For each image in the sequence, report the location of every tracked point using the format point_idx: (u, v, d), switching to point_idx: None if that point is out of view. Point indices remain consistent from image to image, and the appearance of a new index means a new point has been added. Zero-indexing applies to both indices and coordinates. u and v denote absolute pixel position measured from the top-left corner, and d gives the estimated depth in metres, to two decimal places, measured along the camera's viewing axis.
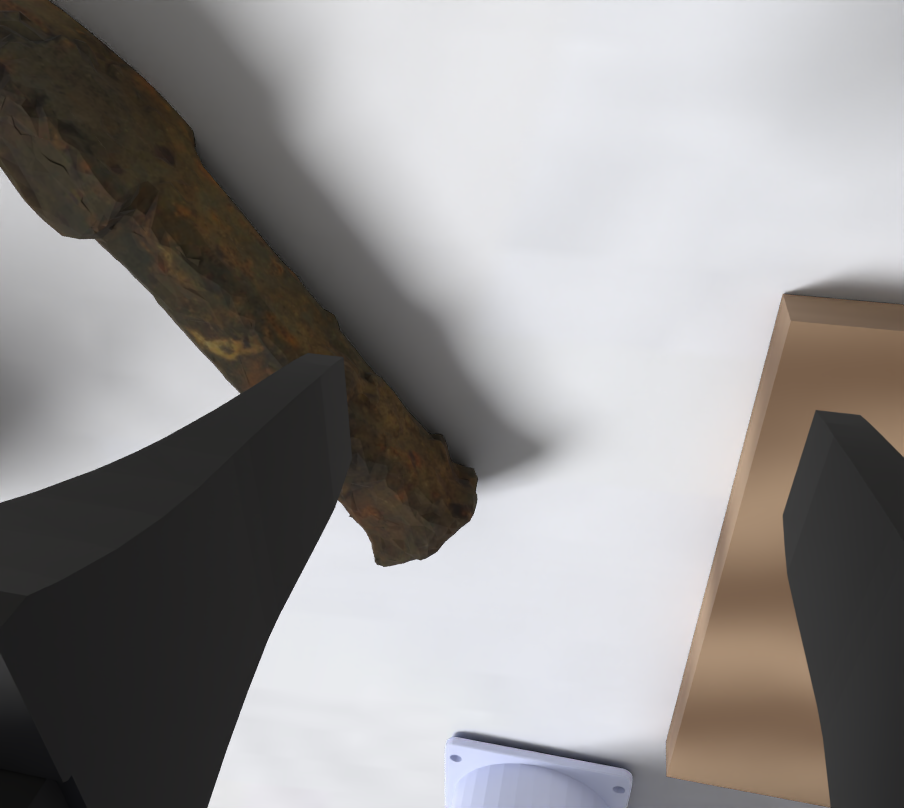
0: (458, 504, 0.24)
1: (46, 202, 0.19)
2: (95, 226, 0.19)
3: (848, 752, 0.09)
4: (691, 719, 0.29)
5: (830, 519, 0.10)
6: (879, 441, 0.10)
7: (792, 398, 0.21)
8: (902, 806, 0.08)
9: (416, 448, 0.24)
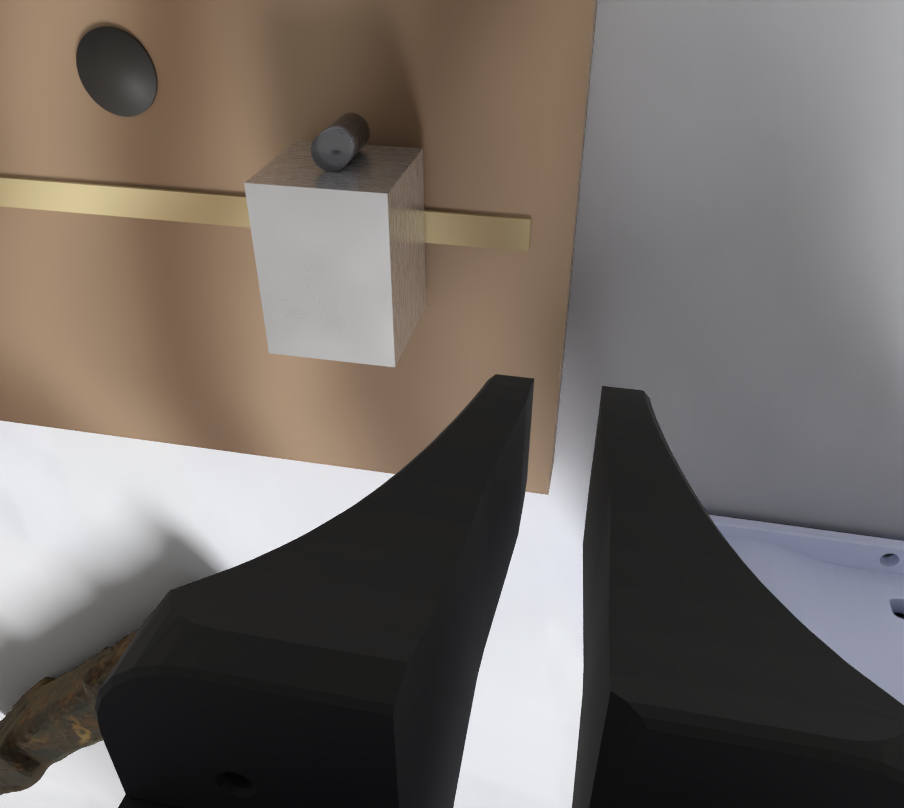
0: None
1: (17, 783, 0.36)
2: (17, 769, 0.35)
3: (584, 705, 0.10)
4: None
5: (595, 488, 0.11)
6: (642, 413, 0.11)
7: (5, 407, 0.26)
8: (584, 747, 0.08)
9: None
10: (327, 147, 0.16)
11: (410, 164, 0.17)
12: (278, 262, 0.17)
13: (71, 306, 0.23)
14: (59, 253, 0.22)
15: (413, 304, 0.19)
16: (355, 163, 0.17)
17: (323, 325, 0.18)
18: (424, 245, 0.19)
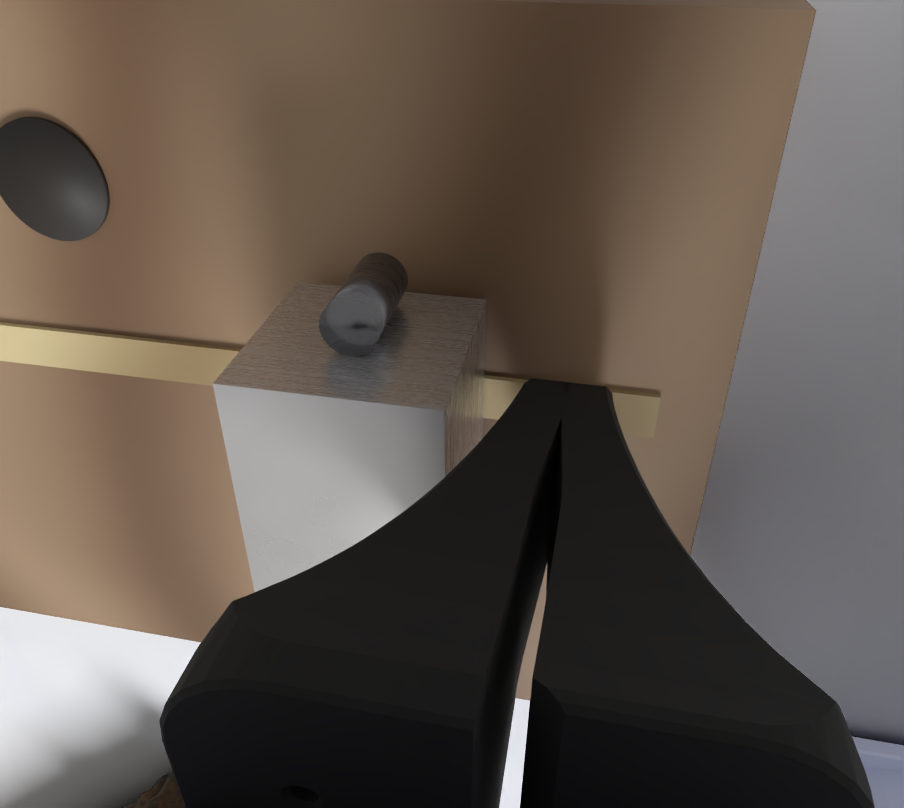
0: None
1: None
2: None
3: None
4: None
5: (555, 482, 0.11)
6: (601, 409, 0.11)
7: None
8: None
9: None
10: (345, 321, 0.10)
11: (472, 336, 0.11)
12: (269, 491, 0.11)
13: (6, 471, 0.17)
14: None
15: None
16: (388, 335, 0.11)
17: None
18: None
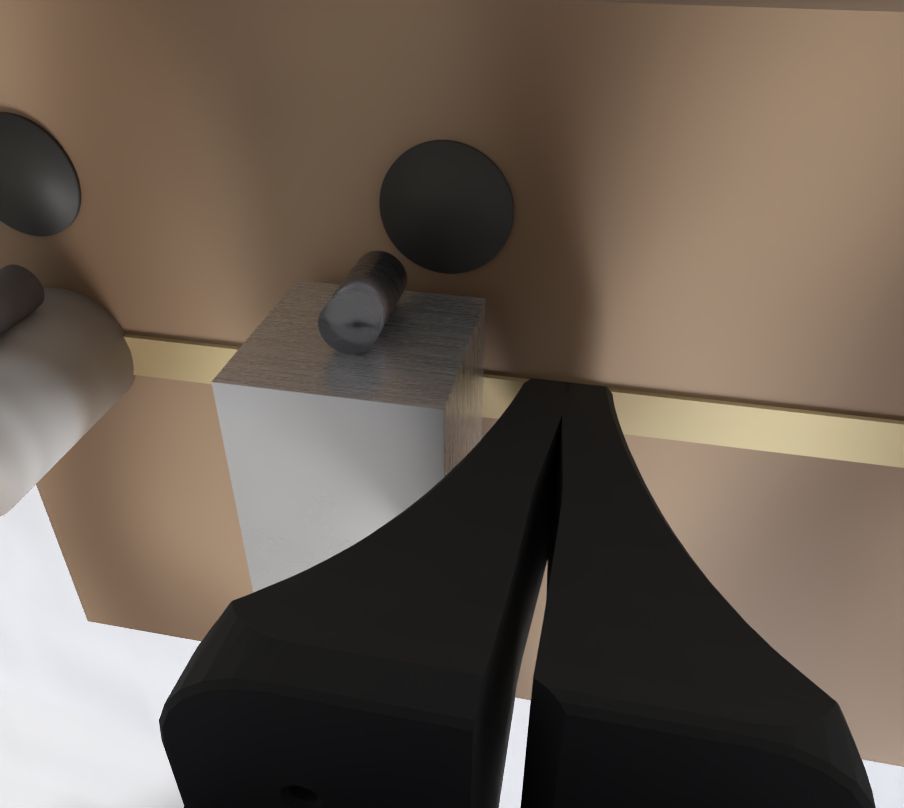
0: None
1: None
2: None
3: None
4: None
5: (556, 482, 0.11)
6: (601, 409, 0.11)
7: (167, 620, 0.19)
8: None
9: None
10: (344, 320, 0.10)
11: (471, 335, 0.11)
12: (267, 489, 0.11)
13: None
14: None
15: None
16: (386, 334, 0.11)
17: None
18: None
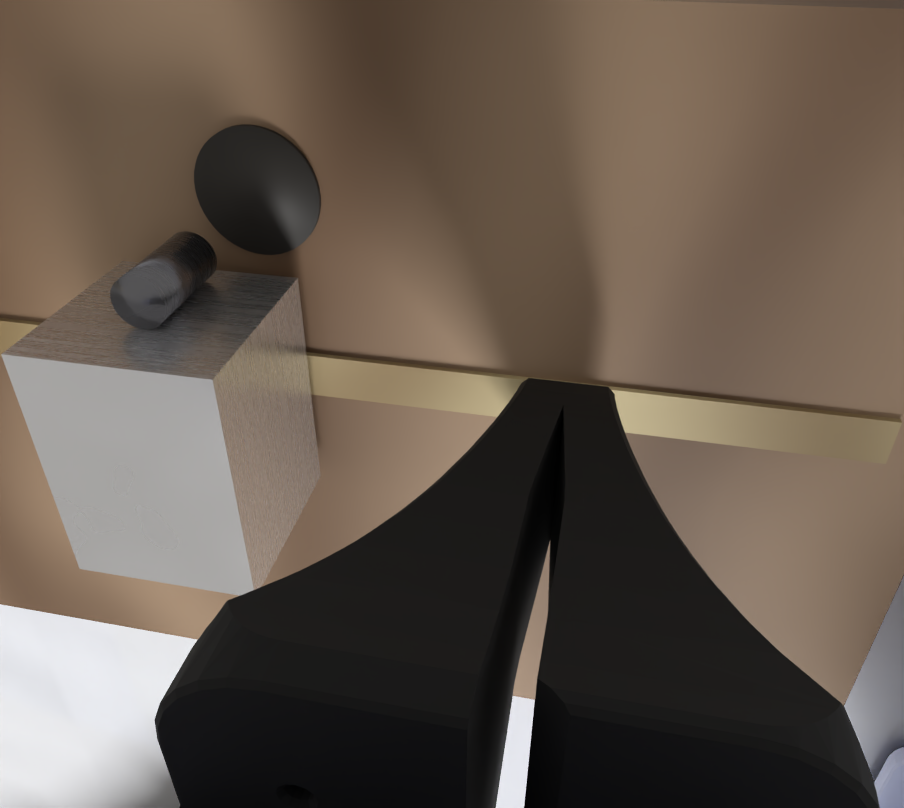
0: None
1: None
2: None
3: None
4: None
5: (558, 483, 0.11)
6: (604, 409, 0.11)
7: (54, 599, 0.19)
8: None
9: None
10: (133, 296, 0.11)
11: (269, 311, 0.12)
12: (71, 460, 0.11)
13: None
14: None
15: (292, 490, 0.13)
16: (188, 310, 0.12)
17: (148, 541, 0.12)
18: (311, 402, 0.14)
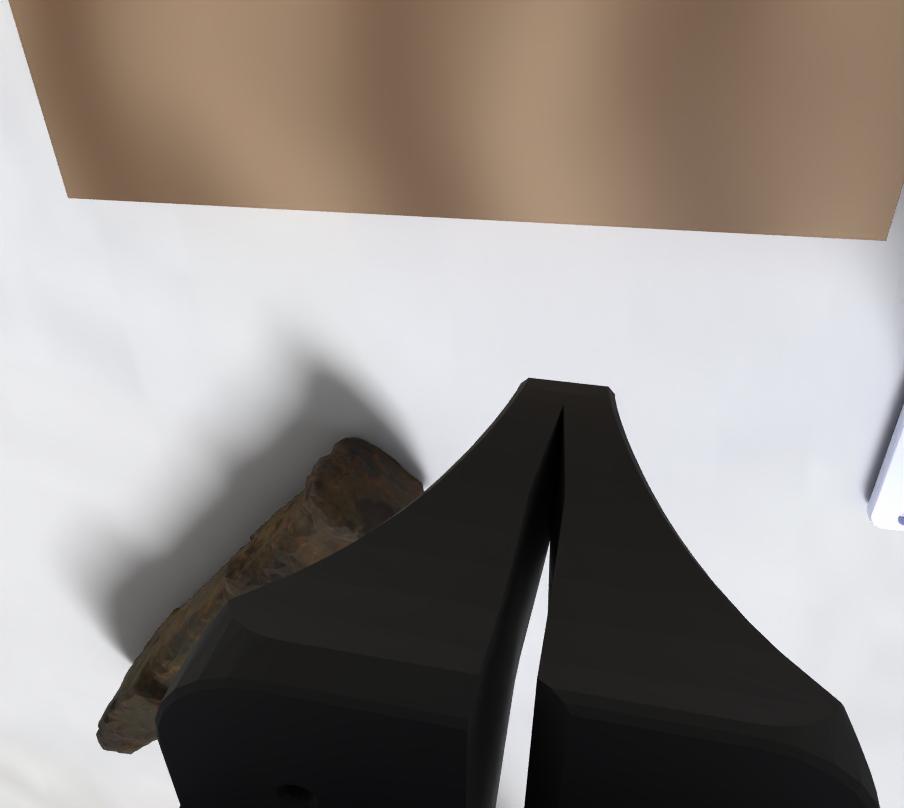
0: None
1: None
2: None
3: None
4: (708, 218, 0.18)
5: (558, 483, 0.11)
6: (604, 409, 0.11)
7: (140, 180, 0.20)
8: None
9: (294, 509, 0.25)
10: None
11: None
12: None
13: (245, 3, 0.17)
14: None
15: None
16: None
17: None
18: None
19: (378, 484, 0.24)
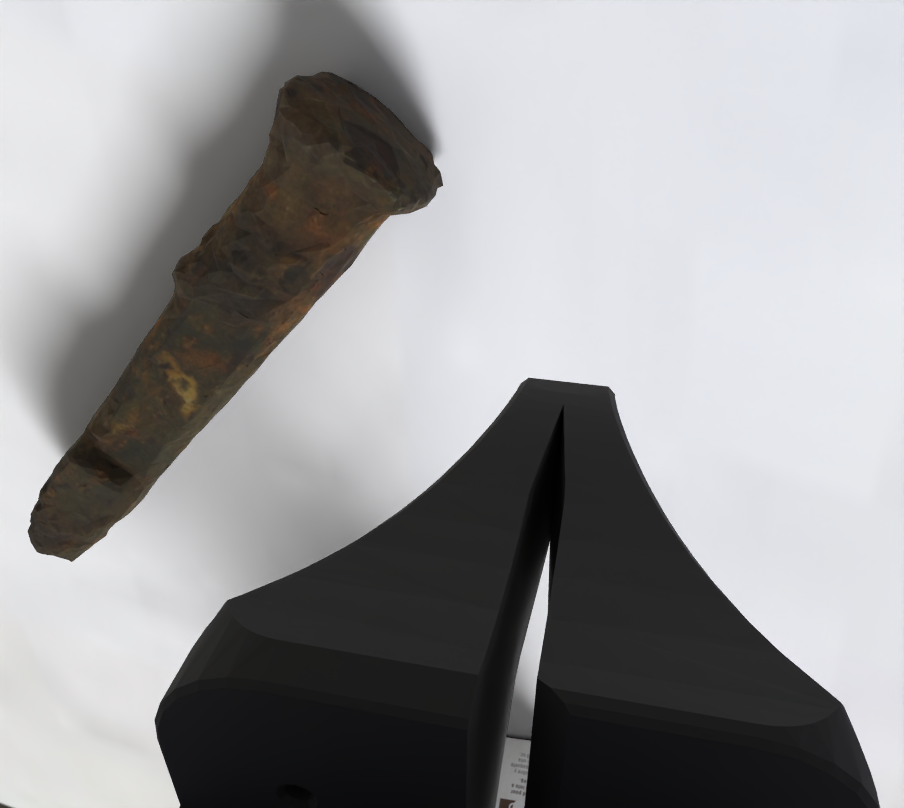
0: None
1: (103, 511, 0.24)
2: (99, 480, 0.23)
3: None
4: None
5: (558, 483, 0.11)
6: (604, 409, 0.11)
7: None
8: None
9: None
10: None
11: None
12: None
13: None
14: None
15: None
16: None
17: None
18: None
19: (373, 118, 0.18)
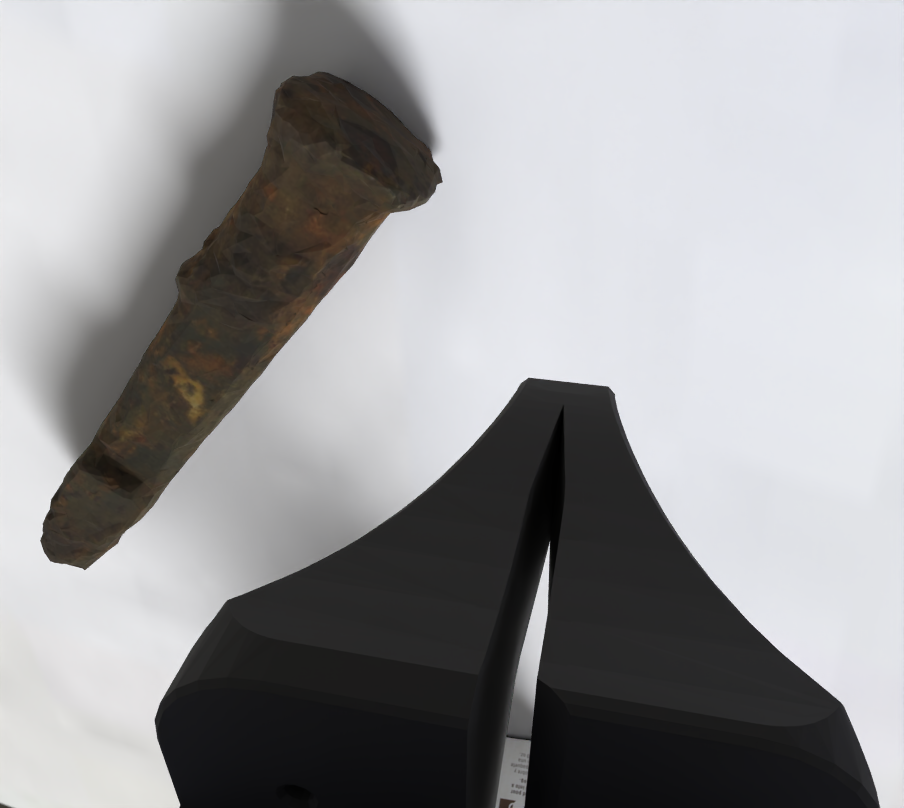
0: None
1: (114, 518, 0.24)
2: (110, 487, 0.23)
3: None
4: None
5: (558, 483, 0.11)
6: (604, 409, 0.11)
7: None
8: None
9: None
10: None
11: None
12: None
13: None
14: None
15: None
16: None
17: None
18: None
19: (370, 116, 0.18)
